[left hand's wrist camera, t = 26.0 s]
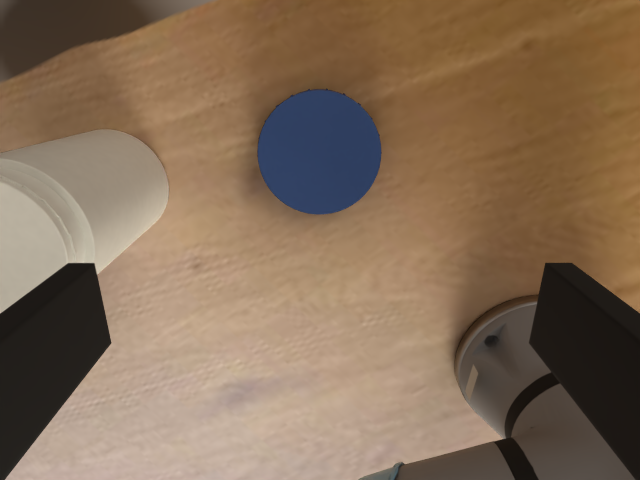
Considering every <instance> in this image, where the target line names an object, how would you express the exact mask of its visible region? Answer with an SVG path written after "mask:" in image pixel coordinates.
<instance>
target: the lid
mask: <svg viewBox="0 0 640 480" xmlns="http://www.w3.org/2000/svg"><path fill="white" fill-rule="evenodd" d="M380 161H381V143H380V138H379V134H378V131H377V129H376V126H375V124H374V122H373V121H372V118H371V117H370V116H369V115H368V113H367V112H366V111H365V110H364V109H363V108H362V107H361V104H359V103H356V102H355V101H354V100H352V99H351V98H349V97H347V96H346V95H345V94H344V93H343V94H341V93H339V92H335V91H331V90H328V89H326V90H324V89H314V90H310V89H308V90H307V91H304V92H300V93H298V94H296V95H291V97H290V98H288V99H287V100H285V101H284V102H282V103H281V104H280V105H277V106H276V109H275V110H274V111H273V112H272V113H271V114H270V116H269V117H268V119H267V120H266V121H265V124H264V126H263V128H262V131H261V134H260V137H259V142H258V162H259V167H260V171H261V174H262V176H263V178H264V181H265V183H266V184H267V186H268V187H269V189H270V190H271V191H272V193H273V194H274V195H275V196H276V197H277V198H278V199H279V200H280V201H282V202H283V203H285V204H286V205H288V206H290V207H291V208H293V209H296V210H298V211H301V212H305V213H309V214H329V213H334V212H338V211H341V210H343V209H346V208H348V207H349V206H351V205H353V204H354V203H356V202H357V201H358V200H359V199H361V198H362V197H363V196H364V195H365V194H366V192H367V191H368V190H369V189H370V187H371V185H372V184H373V182H374V180H375V178H376V176H377V173H378V170H379V167H380Z"/></svg>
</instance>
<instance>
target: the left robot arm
mask: <svg viewBox="0 0 640 480" xmlns="http://www.w3.org/2000/svg"><path fill="white" fill-rule="evenodd" d="M110 344H111V339H110V334H109V330H108V325H107V320H106V315H105V311H104V306H103V301H102V296H101V291H100V287H99V282H98V277H97V272H96V268H95V263H67V264H66V265H65V266H63V267H62V268H61V269H59V270H58V271H57V272H55V273H54V274H53V275H51V276H50V277H49V278H47V279H46V280H45V281H43V282H42V283H41V284H39V285H38V286H37V287H35V288H34V289H33V290H31V291H30V292H28V293H27V294H26V295H24V296H23V297H22V298H20V299H19V300H18V301H16V302H15V303H14V304H12V305H11V306H10V307H8V308H7V309H6V310H4V311H3V312H2V313H0V480H5V479H6V477H7V476H8V475H9V473H10V472H11V471H12V470H13V468H14V467H15V466H16V464H17V463H18V462H19V461H20V459H21V458H22V457H23V456H24V454H25V453H26V452H27V450H28V449H29V448H30V447H31V445H32V444H33V443H34V441H35V440H36V439H37V438H38V436H39V435H40V434H41V432H42V431H43V430H44V429H45V427H46V426H47V425H48V423H49V422H50V421H51V420H52V418H53V417H54V416H55V415H56V413H57V412H58V411H59V409H60V408H61V407H62V406H63V404H64V403H65V402H66V400H67V399H68V398H69V397H70V395H71V394H72V393H73V391H74V390H75V389H76V388H77V386H78V385H79V384H80V382H81V381H82V380H83V379H84V377H85V376H86V375H87V374H88V372H89V371H90V370H91V368H92V367H93V366H94V365H95V363H96V362H97V361H98V359H99V358H100V357H101V356H102V354H103V353H104V352H105V350H106V349H107V348H108V347H109V345H110ZM455 375H456V379H457V382H458V385H459V387H460V389H461V391H462V394H463V396H464V398H465V400H466V401H467V402H468V404H469V405H470V406H471V407H472V409H473V410H474V411H475V412H476V413H477V414H478V415H479V416H480V417H481V418H483V419H484V420H485V421H486V422H487V423H488V424H489V425H490V426H491V427H492V428H493V429H494V430H495V431H496V432H497V433H498V434H499V435H500V436H501V437H502V438H503V439H502V440H498V441H494V442H489V443H485V444H482V445H478V446H474V447H470V448H467V449H463V450H459V451H455V452H452V453H448V454H444V455H441V456H437V457H433V458H429V459H425V460H421V461H417V462H413V463H409V464H404V463H402V462H400V463H397V464H395V465H394V466H393V467H392V468H389V469H386V470H383V471H380V472H377V473H374V474H371V475H368V476H364V477H362V478H360V479H359V480H640V313H638V312H637V311H636V310H634V309H633V308H632V307H630V306H629V305H628V304H626V303H625V302H624V301H622V300H621V299H620V298H618V297H617V296H616V295H614V294H613V293H612V292H610V291H609V290H607V289H606V288H605V287H603V286H602V285H601V284H599V283H598V282H597V281H595V280H594V279H593V278H591V277H590V276H589V275H587V274H586V273H585V272H583V271H582V270H581V269H579V268H578V267H577V266H575V265H574V264H573V263H545V268H544V272H543V277H542V282H541V287H540V291H539V295H533V296H525V297H520V298H517V299H513V300H510V301H507V302H505V303H503V304H500V305H498V306H496V307H495V308H493V309H491V310H490V311H488V312H487V313H485V314H484V315H483V316H481V317H480V318H479V319H478V320H477V321H476V322H475V323H474V324H473V325H472V326H471V327H470V328H469V329H468V331H467V332H466V333H465V335H464V337H463V338H462V340H461V342H460V344H459V347H458V349H457V353H456V357H455Z"/></svg>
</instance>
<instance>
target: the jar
mask: <svg viewBox="0 0 640 480" xmlns="http://www.w3.org/2000/svg"><path fill="white" fill-rule="evenodd" d="M168 196H169V185H168V179H167V175H166V172H165V170H164V167H163V166H162V164H161V162H160V160H159V159H158V157H157V156H156V155H155V153H154V152H153V151H152V150H151V149H150V148H149V147H148V146H147V145H146V144H144V143H143V142H142V141H140V140H139V139H137V138H135V137H134V136H132V135H129V134H127V133H125V132H121V131H118V130H111V129H100V130H93V131H89V132H85V133H81V134H77V135H73V136H69V137H64V138H60V139H56V140H52V141H48V142H44V143H40V144H36V145H31V146H27V147H23V148H19V149H15V150H11V151H7V152H2V153H0V313H2V312H3V311H4V310H6V309H7V308H8V307H10V306H11V305H12V304H14V303H15V302H16V301H18V300H19V299H20V298H22V297H23V296H24V295H26V294H27V293H28V292H30V291H31V290H33V289H34V288H35V287H37V286H38V285H39V284H41V283H42V282H43V281H45V280H46V279H47V278H49V277H50V276H51V275H53V274H54V273H55V272H57V271H58V270H59V269H61V268H62V267H63V266H65V265H66V264H67V263H95V268H96V272H97V274H99V273H100V272H101V271H102V270H103V269H104V268H105V267H106V266H108V265H109V264H110V263H111V262H112V261H113V260H114V259H115V258H116V257H118V256H119V255H120V254H121V253H122V252H123V251H124V250H125V249H127V248H128V247H129V246H130V245H131V244H132V243H133V242H134V241H136V240H137V239H138V238H139V237H140V236H141V235H142V234H143V233H144V232H146V231H147V230H148V229H149V228H150V227H151V226H152V225H153V224H155V223H156V222H157V220H158V219H159V218H160V217H161V215H162V214H163V212H164V210H165V208H166V205H167V202H168Z"/></svg>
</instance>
